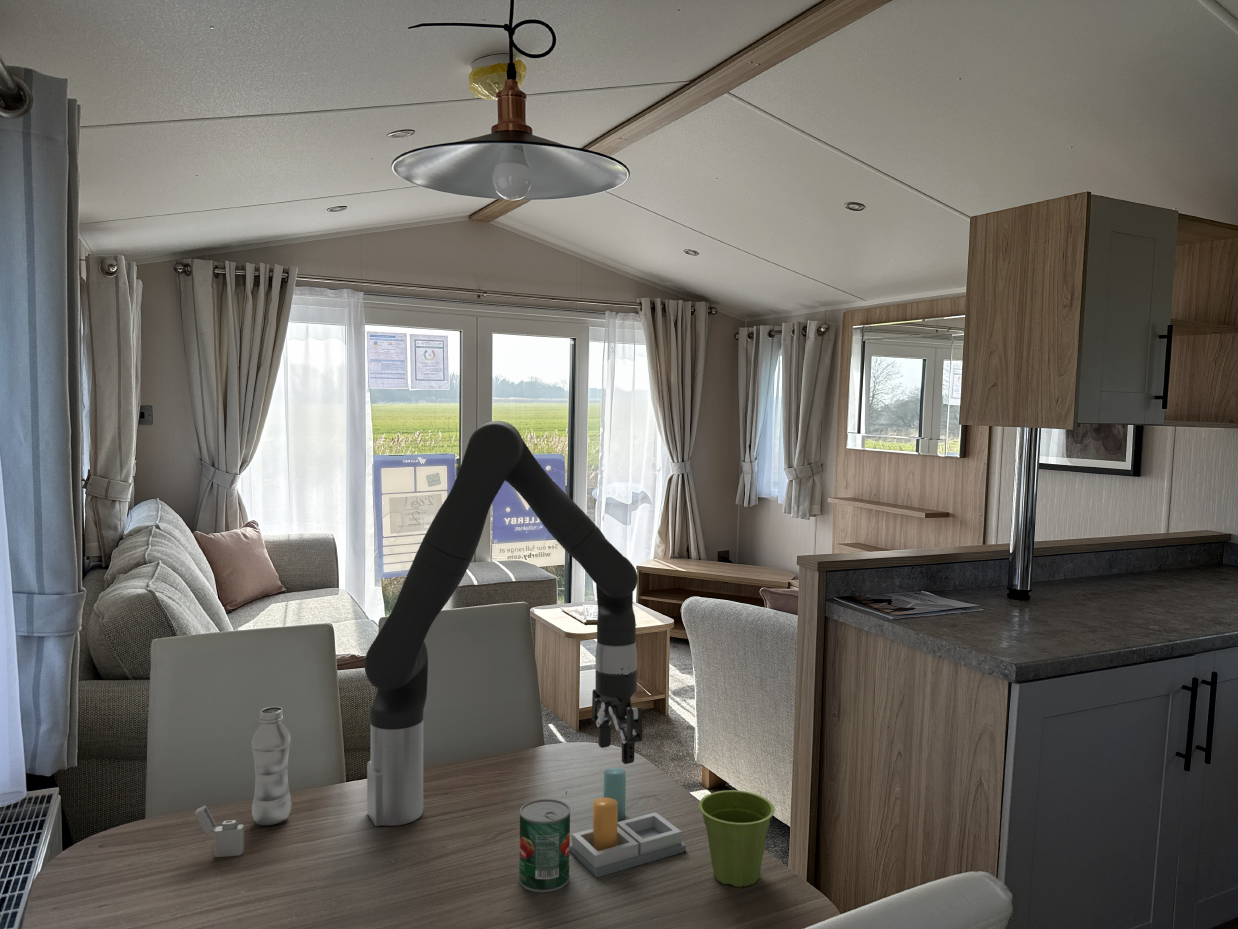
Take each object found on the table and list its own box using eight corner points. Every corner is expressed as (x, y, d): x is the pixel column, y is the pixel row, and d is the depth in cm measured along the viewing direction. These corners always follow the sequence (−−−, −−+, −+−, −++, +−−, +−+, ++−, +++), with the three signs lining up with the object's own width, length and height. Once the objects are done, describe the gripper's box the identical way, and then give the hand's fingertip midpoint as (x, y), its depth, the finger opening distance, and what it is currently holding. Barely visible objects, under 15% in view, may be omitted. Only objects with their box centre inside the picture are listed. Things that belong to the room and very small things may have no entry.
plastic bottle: (298, 813, 150) (298, 704, 149) (279, 831, 143) (279, 717, 142) (264, 811, 151) (264, 703, 150) (244, 829, 144) (243, 715, 143)
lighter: (244, 850, 137) (244, 802, 137) (241, 855, 135) (241, 807, 135) (197, 853, 136) (197, 805, 135) (194, 858, 134) (194, 810, 134)
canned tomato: (509, 876, 130) (510, 807, 130) (551, 860, 135) (552, 794, 135) (536, 899, 124) (536, 826, 123) (579, 882, 129) (580, 812, 128)
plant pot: (728, 849, 139) (729, 783, 139) (788, 876, 131) (789, 806, 131) (682, 874, 131) (683, 805, 131) (742, 906, 123) (744, 831, 122)
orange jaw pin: (600, 859, 134) (600, 810, 133) (588, 848, 137) (588, 800, 137) (621, 853, 136) (622, 805, 135) (609, 842, 139) (610, 795, 139)
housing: (596, 877, 130) (596, 859, 130) (567, 849, 139) (568, 831, 138) (685, 851, 138) (686, 833, 138) (653, 826, 147) (653, 809, 147)
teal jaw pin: (610, 822, 148) (610, 778, 148) (599, 813, 152) (599, 770, 152) (629, 817, 150) (629, 774, 150) (618, 808, 154) (618, 766, 154)
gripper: (579, 659, 154) (579, 745, 155) (618, 679, 142) (617, 773, 143) (614, 654, 158) (614, 738, 159) (655, 673, 146) (654, 764, 146)
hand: (616, 754), depth 151 cm, fingers open, 8 cm apart
